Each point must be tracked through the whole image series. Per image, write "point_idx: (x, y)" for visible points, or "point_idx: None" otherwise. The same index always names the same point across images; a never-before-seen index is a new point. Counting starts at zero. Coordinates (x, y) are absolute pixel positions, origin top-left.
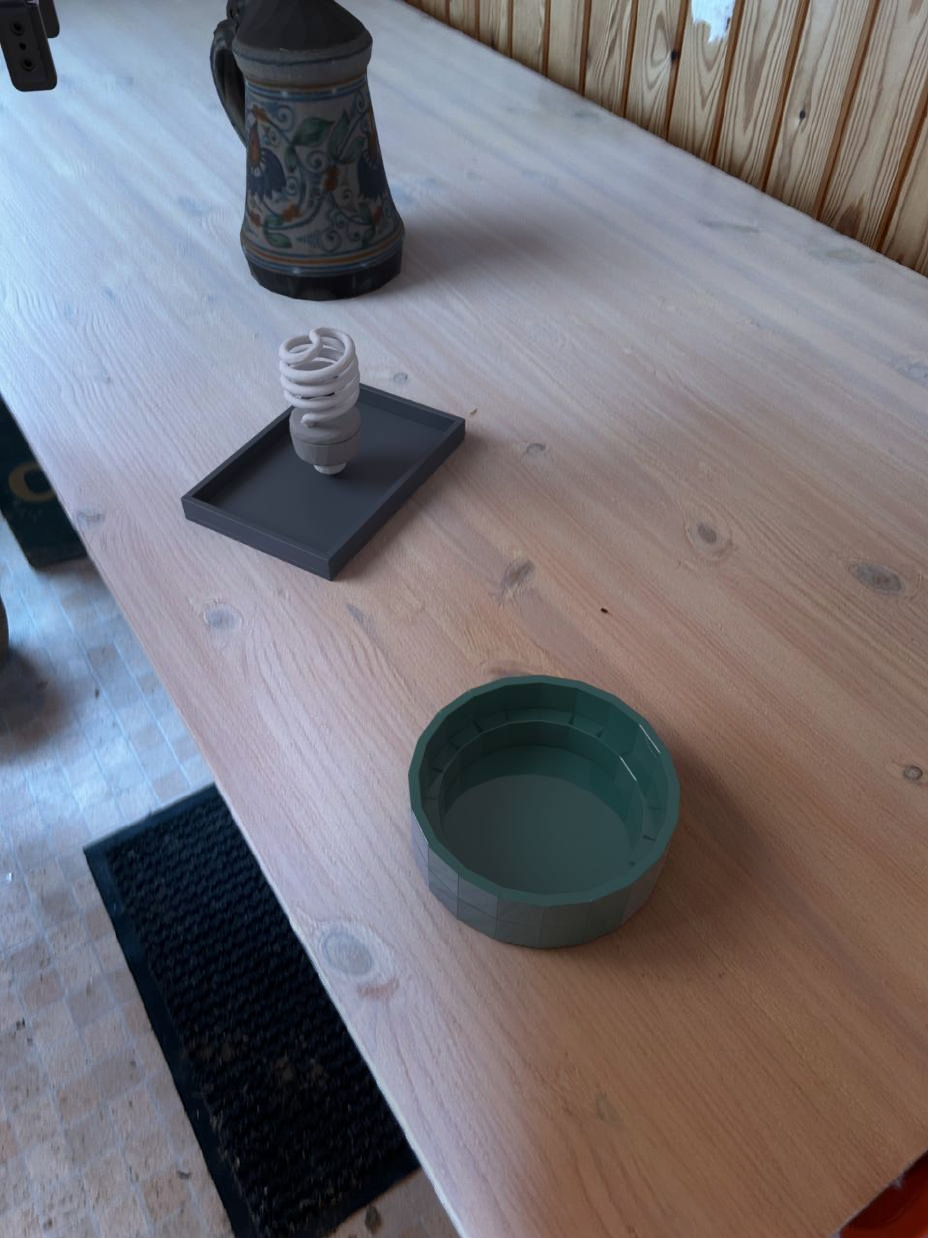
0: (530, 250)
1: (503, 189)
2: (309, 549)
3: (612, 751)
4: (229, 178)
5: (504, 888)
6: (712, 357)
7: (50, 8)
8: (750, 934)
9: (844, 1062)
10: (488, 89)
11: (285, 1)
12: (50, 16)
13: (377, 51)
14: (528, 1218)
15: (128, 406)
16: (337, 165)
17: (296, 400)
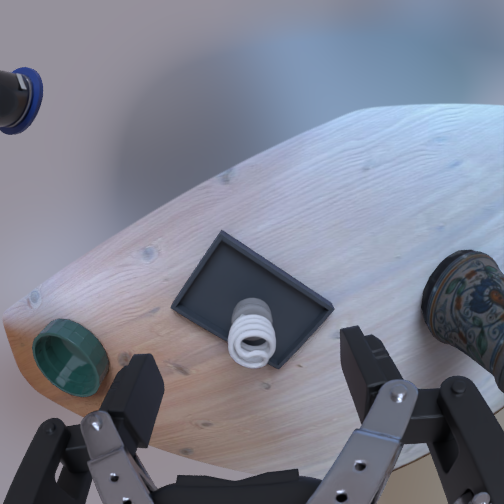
0: (430, 385)
1: (482, 369)
2: (178, 300)
3: (90, 381)
4: None
5: (34, 349)
6: (321, 441)
7: (348, 384)
8: None
9: (44, 388)
10: None
11: None
12: (346, 375)
13: None
14: (4, 325)
15: (336, 184)
16: (466, 344)
17: (235, 324)
